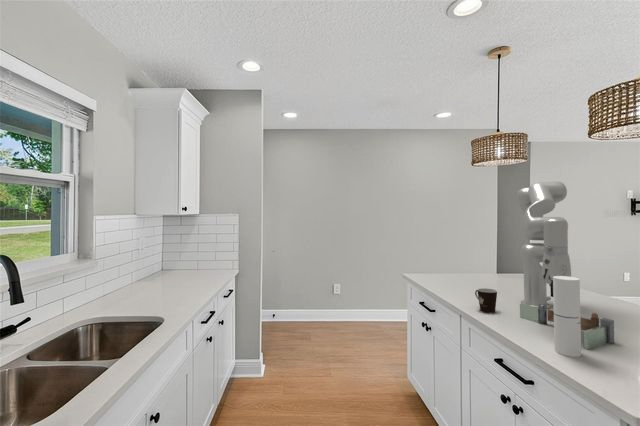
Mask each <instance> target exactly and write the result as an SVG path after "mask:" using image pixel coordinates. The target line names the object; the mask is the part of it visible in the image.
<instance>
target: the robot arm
mask: <svg viewBox="0 0 640 426" xmlns="http://www.w3.org/2000/svg"><path fill="white" fill-rule="evenodd" d="M567 195H568V190H567V186H566V184H565V183H564V182H561V181H543V182H541V181H539V182H535V183H533V184H531V185H530V186H528V187H523V188H520V189H519V190H518V191H517V201H518V204H519V207H520V209H521V211H522V217H523V219H522V220H523V235H524V238H525V239H526V240H528V241H529V240H530V241H543V243H542V242H528V243H525V244H523V245H522V246H521V249H520V253H521V258H522V264H523V265H522V267H523V290H524V291H523V300H520V304H525V305H529V306H533V307H537V308H539V304H546V305H547V310H549V309H550V308H551V307H552V305H551V304H550V303H548V301H551V300H552V298H553V277H554V276H568V277H572V266H571V259H570V255H569V248H568V247H569V241H568V239H569V237H568V236H569V235H568V234H569V232H568V231H569V223H568V220H567V219H565V218H564V217H562V216H544V215H547V214H549V213H551V212H553V211H554V209H555V208H556V204H557V203H558V204H559V203H560V202H562V201H564V199H566V197H567ZM541 263H542V264H541ZM547 284H548V285H549V287H550V296H548V293H547V292H548V291H547Z"/></svg>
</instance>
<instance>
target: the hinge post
mask: <svg viewBox="0 0 640 426" xmlns="http://www.w3.org/2000/svg"><path fill="white" fill-rule="evenodd" d="M547 310H548V309H547V305H546V304H539V308H537V307H533V306H529V305H525V304H521V303H519V318H521V319H525V320H528V321H532V322H535V323H538V324H540V325H545V326H547V325H548V318H547Z"/></svg>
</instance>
